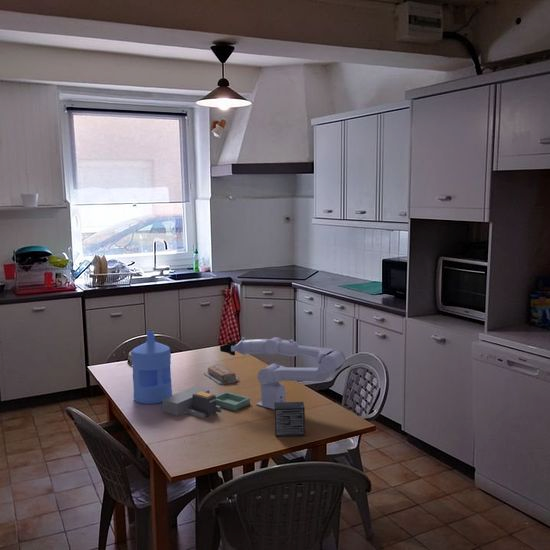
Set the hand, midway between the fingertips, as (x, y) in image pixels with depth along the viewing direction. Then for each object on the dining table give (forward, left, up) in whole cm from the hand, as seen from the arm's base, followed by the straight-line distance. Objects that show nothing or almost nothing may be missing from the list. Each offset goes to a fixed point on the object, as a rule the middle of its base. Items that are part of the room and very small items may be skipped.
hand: (225, 347), depth 237 cm
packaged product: (+18, -17, -21) cm, 33 cm away
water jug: (+24, +19, -21) cm, 37 cm away
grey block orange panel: (-4, +18, -21) cm, 28 cm away
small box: (-42, +15, -21) cm, 50 cm away
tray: (-7, +6, -21) cm, 23 cm away
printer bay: (+1, +18, -21) cm, 28 cm away
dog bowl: (+66, -14, -21) cm, 71 cm away
